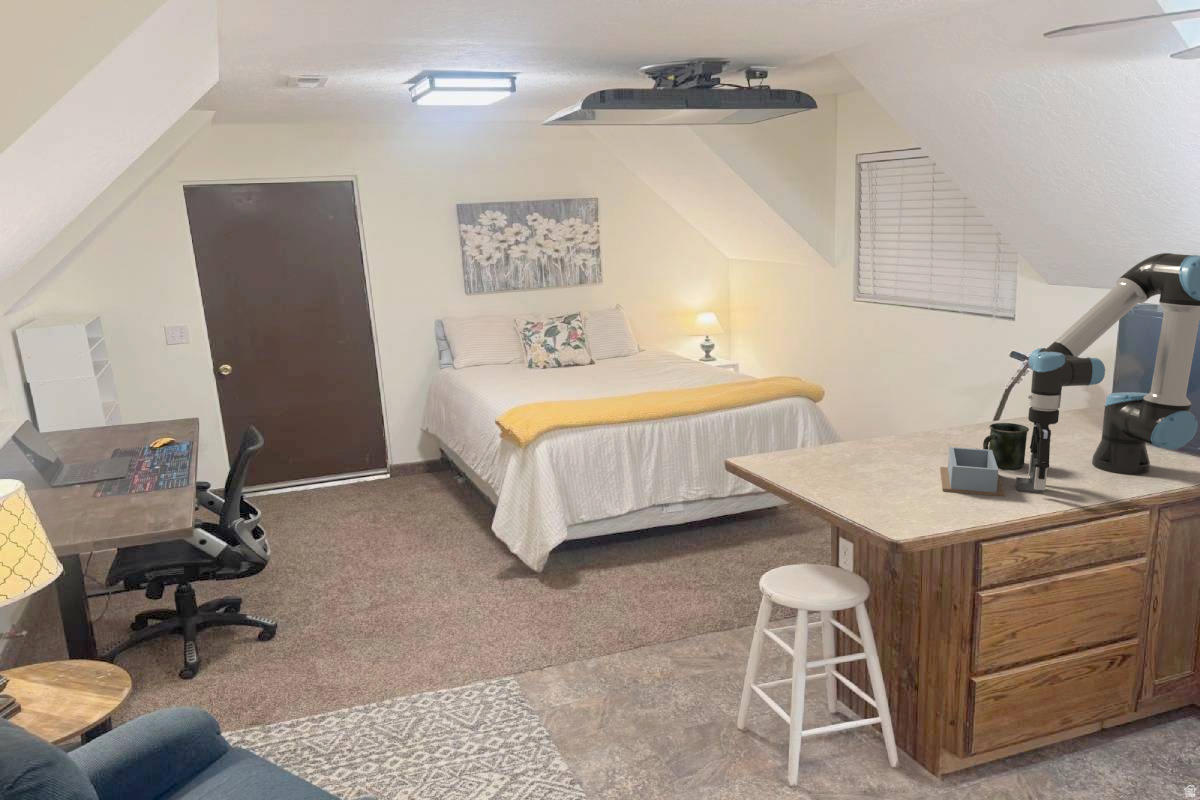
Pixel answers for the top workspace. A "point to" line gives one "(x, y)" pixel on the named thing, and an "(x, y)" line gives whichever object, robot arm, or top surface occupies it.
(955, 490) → the box
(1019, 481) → the brushed grey block
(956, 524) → the top surface
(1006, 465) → the mug
